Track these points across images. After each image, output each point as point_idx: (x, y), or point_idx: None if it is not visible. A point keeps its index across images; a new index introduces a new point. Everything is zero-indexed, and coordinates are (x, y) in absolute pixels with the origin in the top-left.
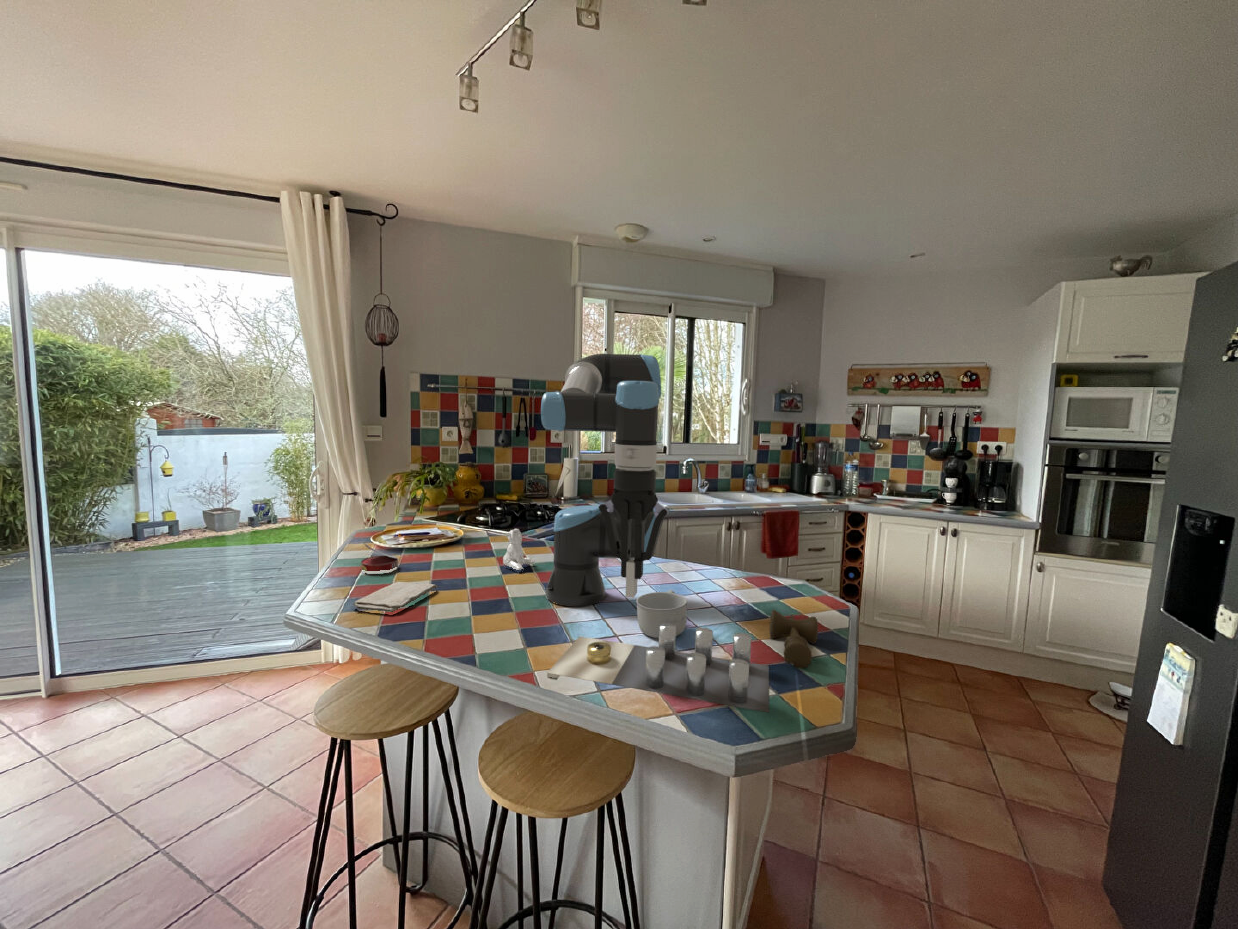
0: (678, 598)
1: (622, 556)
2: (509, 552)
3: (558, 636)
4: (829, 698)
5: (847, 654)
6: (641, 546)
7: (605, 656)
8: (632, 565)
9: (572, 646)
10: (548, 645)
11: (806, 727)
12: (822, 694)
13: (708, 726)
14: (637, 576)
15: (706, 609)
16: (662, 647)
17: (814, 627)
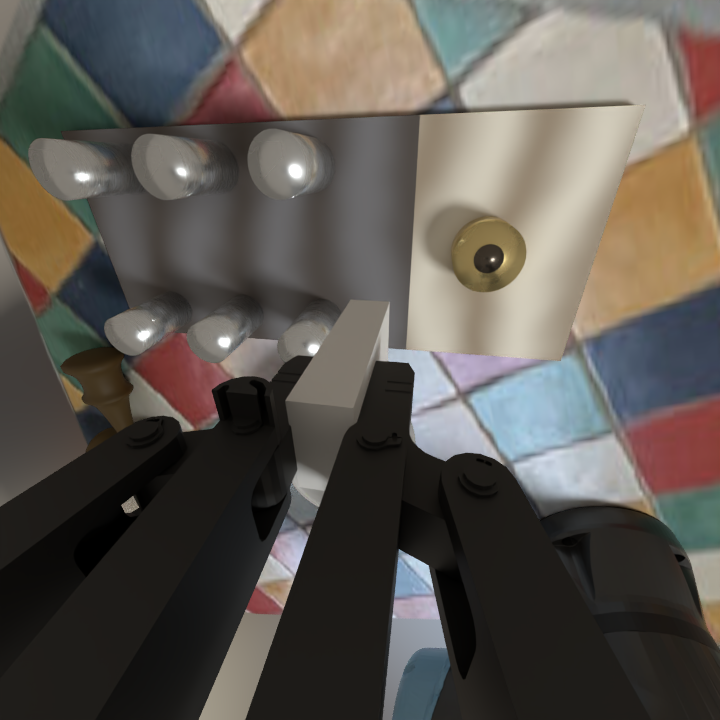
0: (320, 496)
1: (387, 450)
2: None
3: (621, 363)
4: (27, 253)
5: (71, 406)
6: (126, 534)
7: (462, 232)
8: (308, 389)
9: (573, 301)
10: (649, 308)
11: (5, 120)
12: (41, 263)
13: (149, 21)
14: (306, 363)
15: (310, 517)
16: (321, 311)
17: (91, 445)
